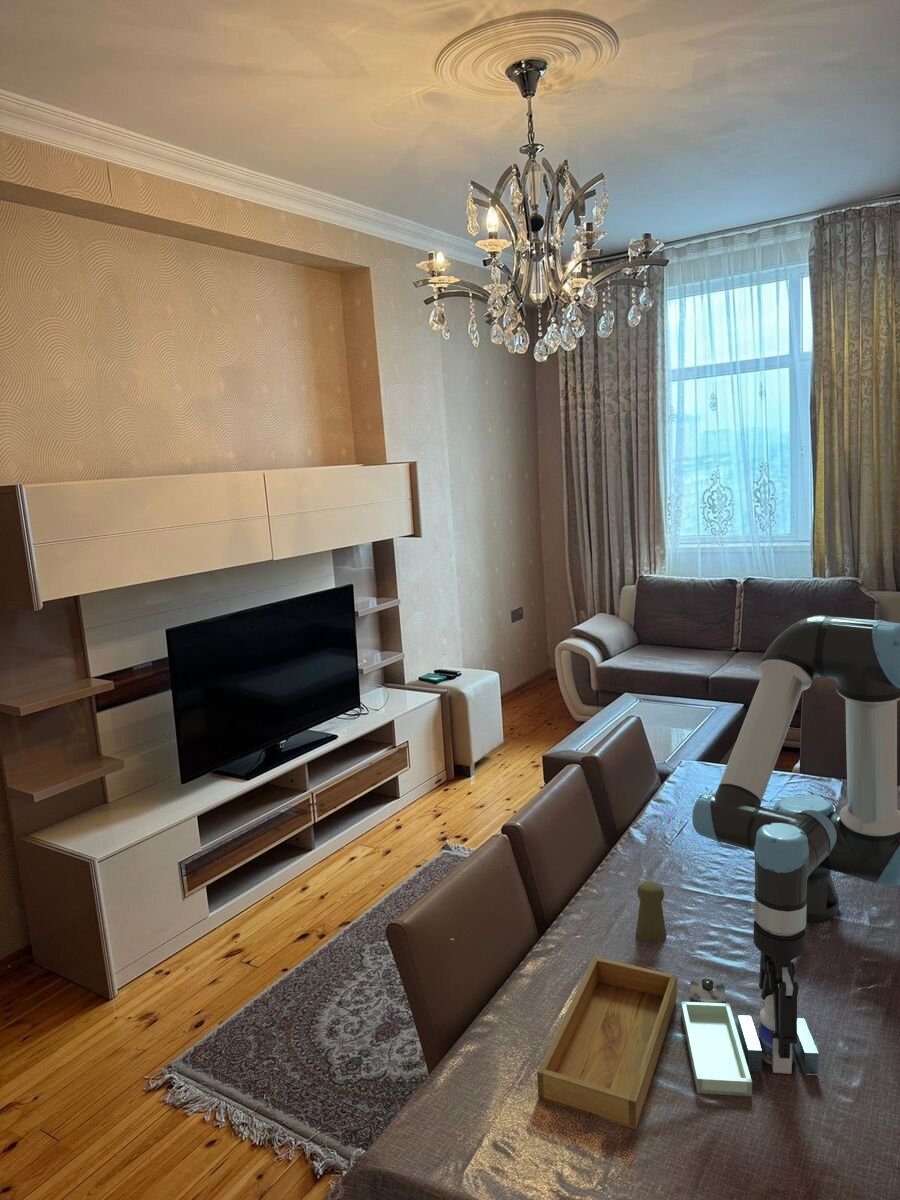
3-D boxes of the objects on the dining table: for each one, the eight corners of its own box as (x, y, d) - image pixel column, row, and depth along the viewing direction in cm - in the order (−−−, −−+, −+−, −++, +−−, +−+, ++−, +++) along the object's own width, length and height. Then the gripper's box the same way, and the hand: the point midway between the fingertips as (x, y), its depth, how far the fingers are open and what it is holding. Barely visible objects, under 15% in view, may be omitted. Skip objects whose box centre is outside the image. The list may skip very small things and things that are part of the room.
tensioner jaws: (803, 1040, 137) (804, 1018, 136) (817, 1076, 129) (818, 1053, 128) (737, 1036, 138) (738, 1015, 138) (748, 1072, 131) (748, 1049, 130)
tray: (636, 1133, 121) (635, 1098, 120) (537, 1101, 128) (536, 1069, 127) (677, 1003, 148) (677, 975, 147) (594, 983, 155) (593, 956, 154)
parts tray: (729, 1016, 143) (729, 1003, 143) (751, 1096, 126) (752, 1081, 125) (681, 1014, 145) (681, 1001, 144) (697, 1093, 127) (697, 1078, 127)
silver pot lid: (721, 987, 151) (721, 972, 151) (728, 1009, 145) (728, 993, 145) (687, 985, 152) (687, 970, 152) (692, 1007, 146) (692, 992, 146)
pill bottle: (752, 1045, 136) (753, 992, 135) (784, 1042, 137) (785, 989, 135) (768, 1070, 131) (769, 1014, 129) (801, 1066, 131) (802, 1011, 130)
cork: (667, 944, 165) (667, 893, 163) (636, 942, 166) (635, 891, 164) (665, 927, 171) (665, 877, 169) (635, 925, 172) (634, 876, 170)
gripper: (741, 890, 140) (739, 1013, 144) (769, 960, 121) (766, 1099, 125) (788, 891, 139) (784, 1015, 143) (823, 962, 120) (818, 1103, 124)
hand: (776, 1054), depth 134 cm, fingers open, 7 cm apart
